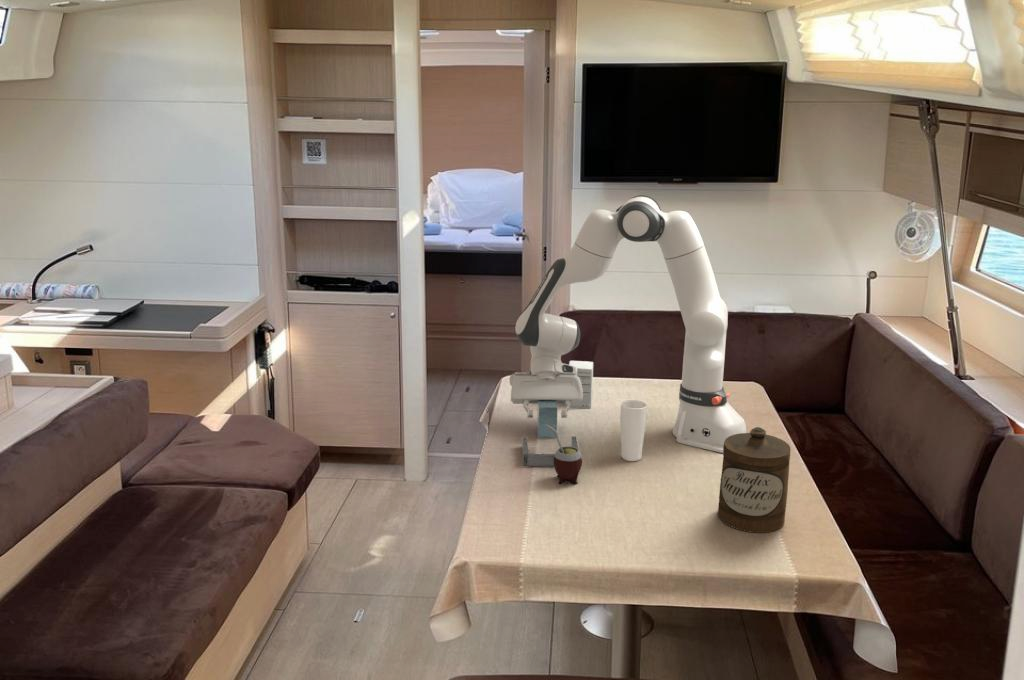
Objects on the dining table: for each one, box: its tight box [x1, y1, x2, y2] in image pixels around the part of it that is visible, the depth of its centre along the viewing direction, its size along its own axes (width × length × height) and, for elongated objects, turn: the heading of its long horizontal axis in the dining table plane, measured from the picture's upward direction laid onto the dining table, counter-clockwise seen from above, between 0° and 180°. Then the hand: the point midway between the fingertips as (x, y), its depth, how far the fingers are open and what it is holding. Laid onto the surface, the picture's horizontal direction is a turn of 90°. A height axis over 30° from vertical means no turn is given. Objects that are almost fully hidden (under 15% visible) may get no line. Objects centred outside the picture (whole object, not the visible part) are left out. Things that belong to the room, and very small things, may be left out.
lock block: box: [536, 400, 558, 439], centre depth 265 cm, size 8×5×9 cm, turn 1°
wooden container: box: [717, 426, 791, 533], centre depth 215 cm, size 15×15×22 cm
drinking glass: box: [619, 399, 648, 462], centre depth 248 cm, size 7×7×15 cm
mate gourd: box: [546, 424, 583, 485], centre depth 234 cm, size 8×8×15 cm
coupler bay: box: [521, 435, 580, 468], centre depth 250 cm, size 13×14×3 cm
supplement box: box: [568, 360, 594, 409], centre depth 288 cm, size 7×7×13 cm
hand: (547, 417), depth 264 cm, fingers open, 8 cm apart
